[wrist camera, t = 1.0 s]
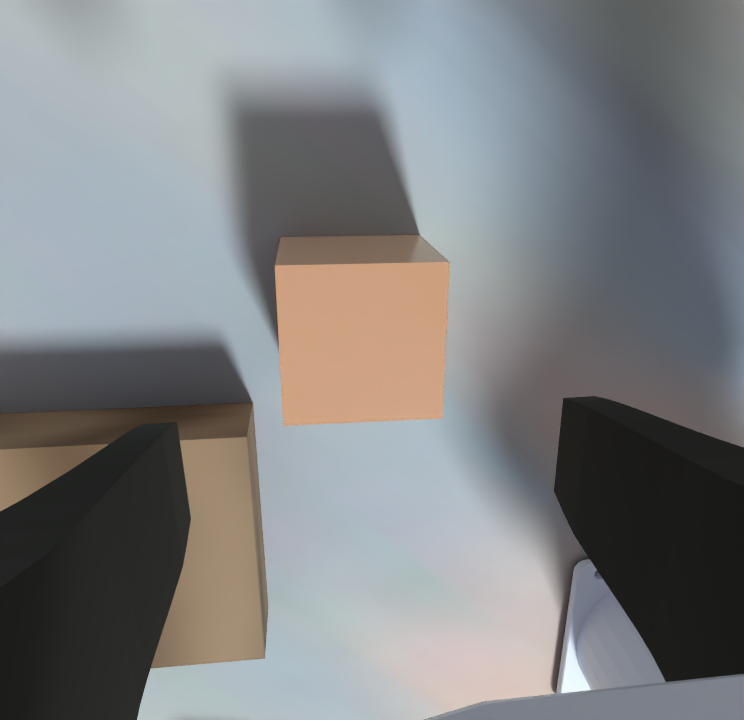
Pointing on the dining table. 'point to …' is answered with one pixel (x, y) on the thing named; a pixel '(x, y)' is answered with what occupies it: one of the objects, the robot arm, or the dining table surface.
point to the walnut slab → (207, 509)
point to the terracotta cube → (361, 328)
